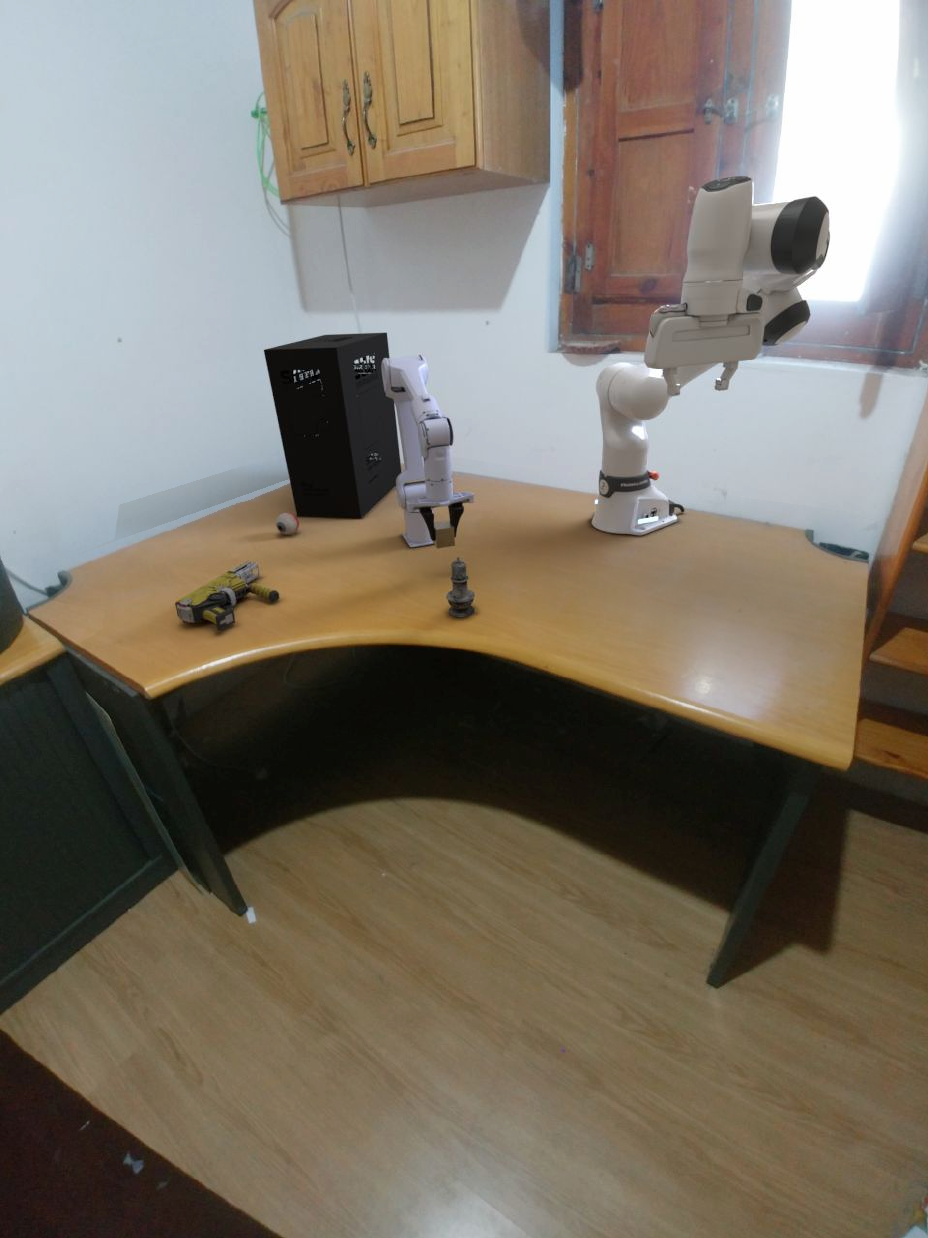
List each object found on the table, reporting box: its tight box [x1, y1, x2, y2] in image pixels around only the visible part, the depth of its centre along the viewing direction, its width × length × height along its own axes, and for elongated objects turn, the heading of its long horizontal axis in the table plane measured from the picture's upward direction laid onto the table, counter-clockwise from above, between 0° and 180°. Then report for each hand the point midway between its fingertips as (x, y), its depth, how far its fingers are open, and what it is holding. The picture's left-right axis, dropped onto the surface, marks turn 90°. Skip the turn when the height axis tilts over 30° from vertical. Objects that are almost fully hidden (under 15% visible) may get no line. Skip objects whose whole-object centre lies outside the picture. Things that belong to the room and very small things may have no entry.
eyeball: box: [275, 511, 300, 536], centre depth 163 cm, size 6×6×6 cm
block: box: [433, 519, 456, 549], centre depth 134 cm, size 4×5×4 cm
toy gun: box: [174, 560, 280, 631], centre depth 130 cm, size 5×24×15 cm
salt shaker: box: [445, 556, 476, 618], centre depth 120 cm, size 6×6×12 cm
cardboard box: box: [263, 332, 403, 519], centre depth 180 cm, size 38×20×45 cm, turn 167°
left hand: (442, 537), depth 134 cm, fingers closed on block, 4 cm apart
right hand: (697, 392), depth 103 cm, fingers open, 8 cm apart
